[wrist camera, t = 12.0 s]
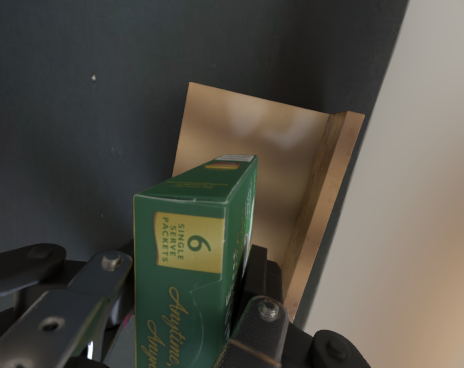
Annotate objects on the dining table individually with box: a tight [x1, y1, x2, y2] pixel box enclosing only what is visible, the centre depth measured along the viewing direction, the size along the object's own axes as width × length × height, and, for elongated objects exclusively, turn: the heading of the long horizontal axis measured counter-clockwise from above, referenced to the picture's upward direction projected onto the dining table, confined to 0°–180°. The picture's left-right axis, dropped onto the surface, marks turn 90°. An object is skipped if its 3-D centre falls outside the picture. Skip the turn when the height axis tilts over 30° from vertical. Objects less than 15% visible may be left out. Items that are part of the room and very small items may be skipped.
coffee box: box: [133, 155, 258, 368], centre depth 14 cm, size 8×3×13 cm, turn 176°
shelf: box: [172, 82, 365, 323], centre depth 23 cm, size 16×12×12 cm
